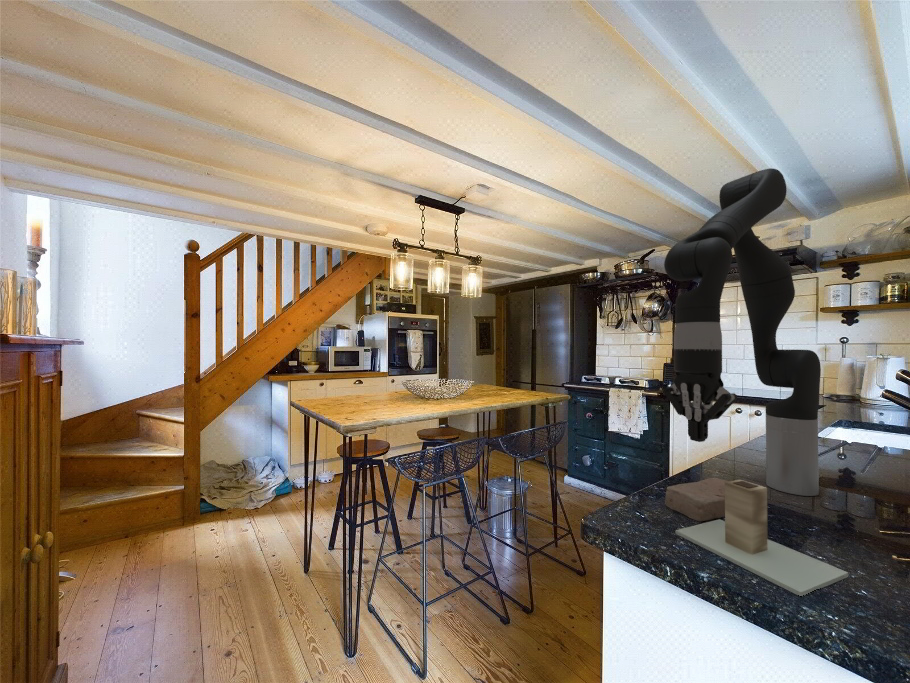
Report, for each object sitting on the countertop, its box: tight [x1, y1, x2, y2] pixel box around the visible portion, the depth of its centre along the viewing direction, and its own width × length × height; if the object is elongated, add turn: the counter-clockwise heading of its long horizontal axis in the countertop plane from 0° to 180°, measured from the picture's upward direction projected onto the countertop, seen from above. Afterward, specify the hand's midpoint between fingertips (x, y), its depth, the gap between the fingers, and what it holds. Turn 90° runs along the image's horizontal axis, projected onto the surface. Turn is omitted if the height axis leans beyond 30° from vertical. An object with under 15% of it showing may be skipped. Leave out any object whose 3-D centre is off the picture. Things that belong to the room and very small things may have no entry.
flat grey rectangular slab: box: [675, 518, 849, 597], centre depth 60 cm, size 12×18×1 cm, turn 22°
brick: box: [664, 477, 730, 522], centre depth 77 cm, size 17×8×5 cm, turn 110°
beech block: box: [724, 479, 768, 555], centre depth 61 cm, size 4×4×10 cm
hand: (697, 440), depth 68 cm, fingers closed
